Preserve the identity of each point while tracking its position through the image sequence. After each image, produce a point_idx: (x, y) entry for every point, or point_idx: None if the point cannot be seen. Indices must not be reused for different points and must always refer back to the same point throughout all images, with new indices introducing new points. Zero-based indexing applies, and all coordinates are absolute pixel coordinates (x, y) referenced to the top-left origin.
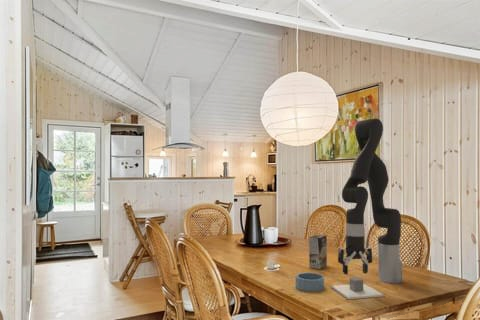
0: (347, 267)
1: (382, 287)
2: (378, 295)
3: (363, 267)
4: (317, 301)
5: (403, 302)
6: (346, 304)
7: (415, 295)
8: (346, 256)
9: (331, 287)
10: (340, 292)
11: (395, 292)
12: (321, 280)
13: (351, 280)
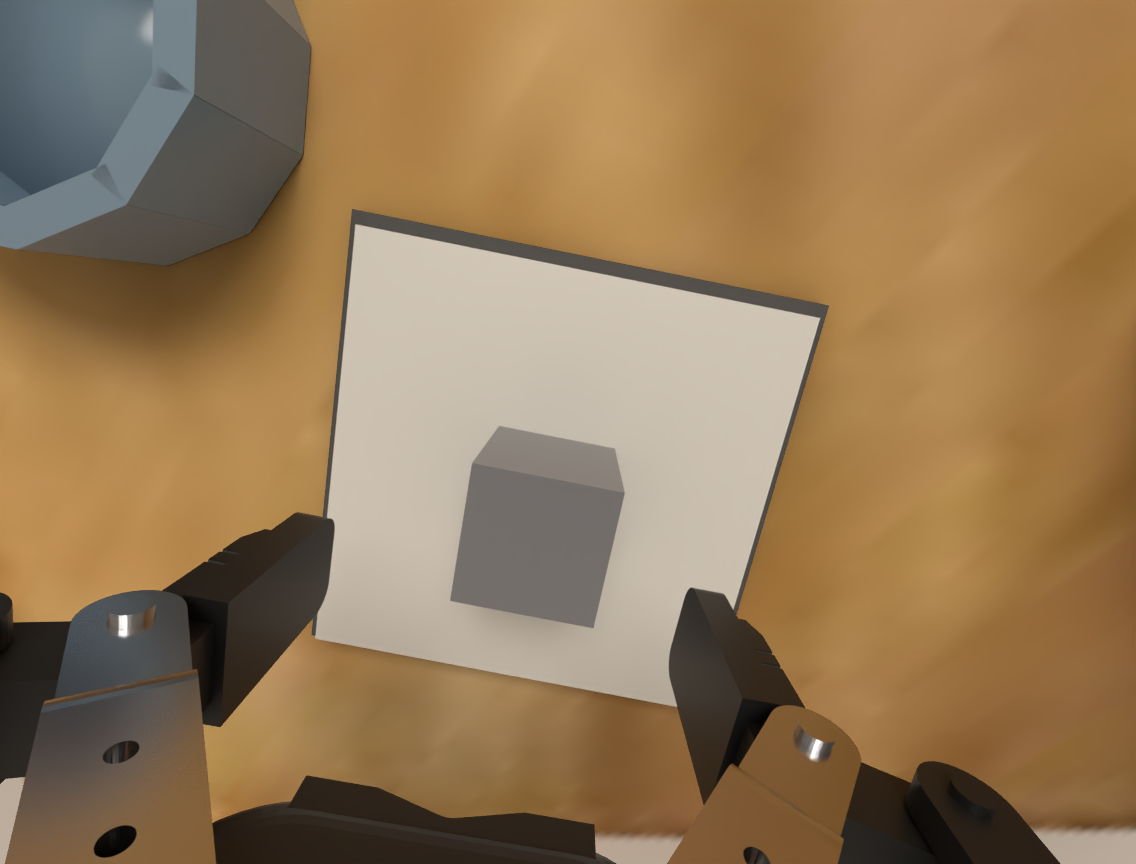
0: (241, 692)
1: (976, 439)
2: (647, 698)
3: (705, 678)
4: (30, 513)
5: None
6: None
7: (1029, 757)
8: (65, 806)
9: (369, 214)
10: (334, 465)
11: (943, 623)
12: (95, 229)
13: (466, 514)
